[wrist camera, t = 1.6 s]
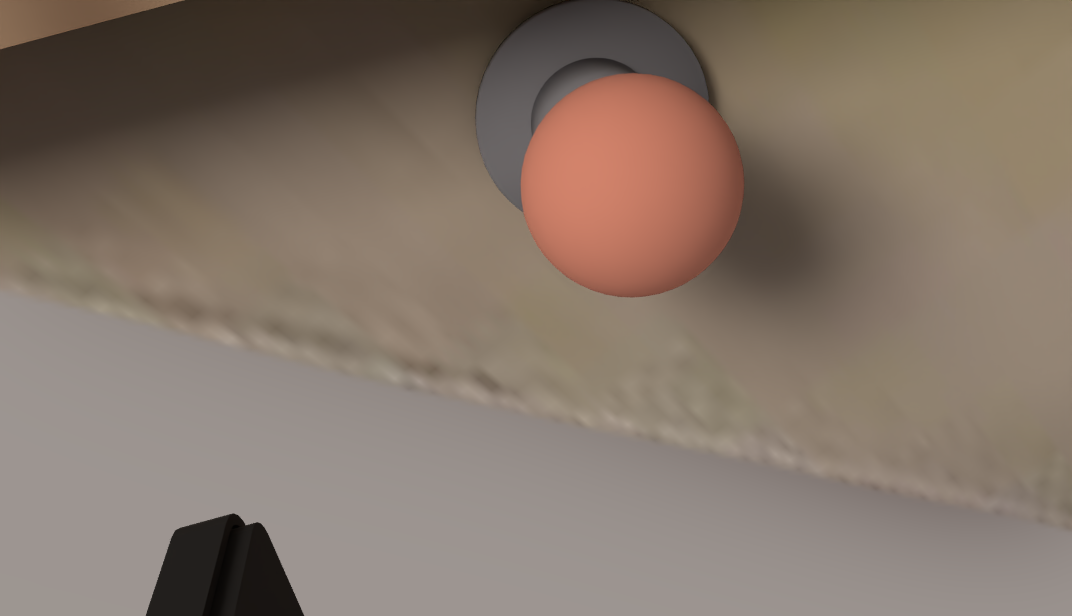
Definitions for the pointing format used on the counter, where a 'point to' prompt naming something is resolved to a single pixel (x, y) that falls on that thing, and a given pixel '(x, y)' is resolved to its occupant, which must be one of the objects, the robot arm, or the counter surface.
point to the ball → (632, 185)
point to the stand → (568, 72)
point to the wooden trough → (61, 16)
